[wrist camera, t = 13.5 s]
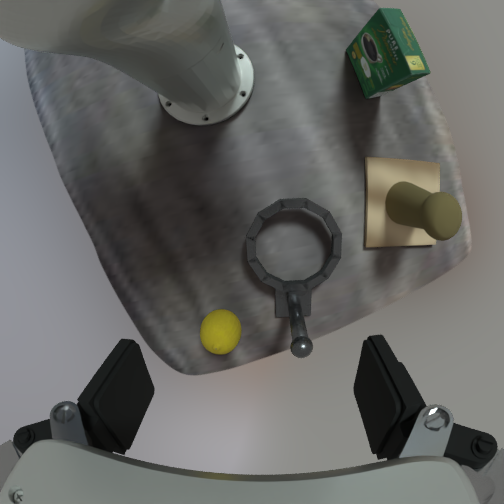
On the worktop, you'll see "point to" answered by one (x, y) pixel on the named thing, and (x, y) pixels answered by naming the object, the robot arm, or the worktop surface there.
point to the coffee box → (386, 54)
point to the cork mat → (377, 186)
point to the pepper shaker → (424, 210)
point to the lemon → (220, 331)
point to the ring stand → (299, 291)
